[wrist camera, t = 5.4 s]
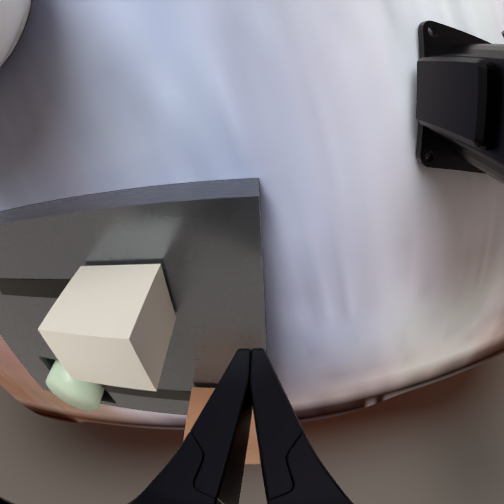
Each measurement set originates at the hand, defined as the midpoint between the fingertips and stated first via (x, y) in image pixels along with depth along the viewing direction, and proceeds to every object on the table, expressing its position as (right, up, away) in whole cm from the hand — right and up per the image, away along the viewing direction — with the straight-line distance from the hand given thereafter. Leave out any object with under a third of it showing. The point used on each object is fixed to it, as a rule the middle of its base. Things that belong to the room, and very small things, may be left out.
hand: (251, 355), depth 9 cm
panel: (-9, -1, +7) cm, 12 cm away
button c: (-13, -5, +10) cm, 17 cm away
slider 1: (-5, +2, +3) cm, 7 cm away
